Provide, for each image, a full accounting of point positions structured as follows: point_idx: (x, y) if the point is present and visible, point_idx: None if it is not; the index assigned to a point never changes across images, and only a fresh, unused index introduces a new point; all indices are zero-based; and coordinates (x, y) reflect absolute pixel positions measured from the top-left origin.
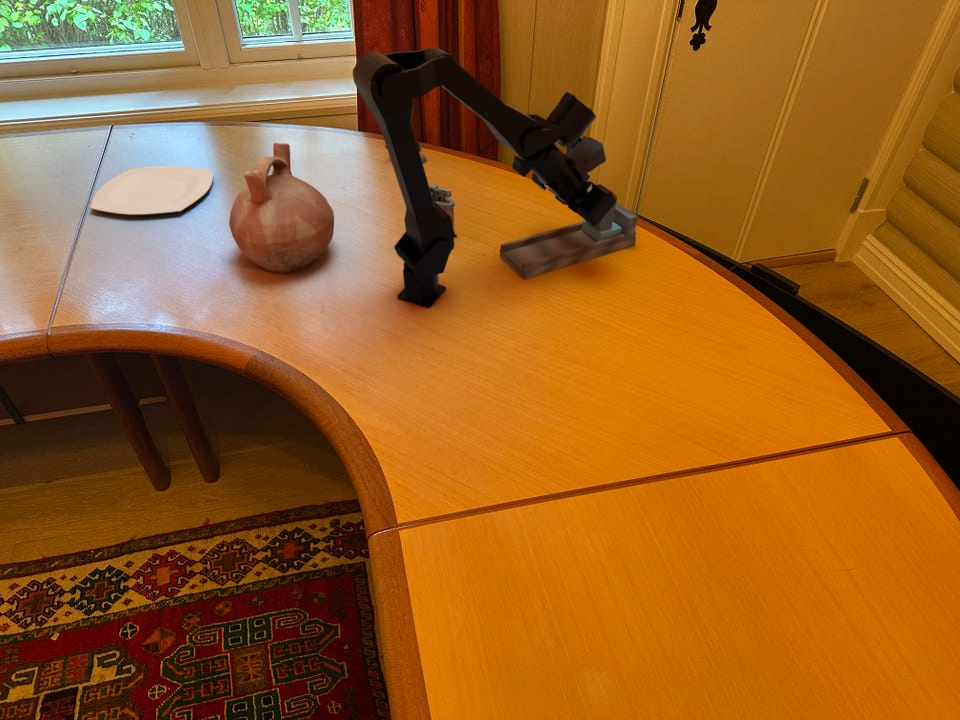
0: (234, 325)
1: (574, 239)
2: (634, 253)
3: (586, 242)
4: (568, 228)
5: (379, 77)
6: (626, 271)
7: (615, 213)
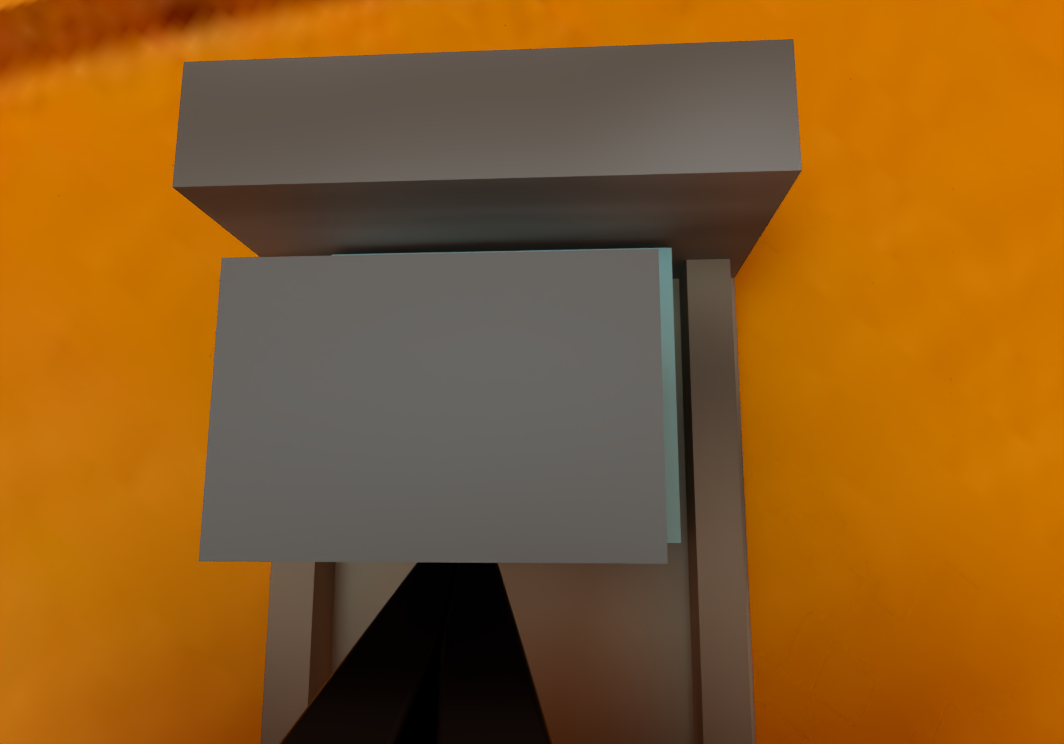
0: None
1: None
2: (829, 268)
3: (571, 639)
4: None
5: None
6: (1060, 524)
7: (506, 201)
